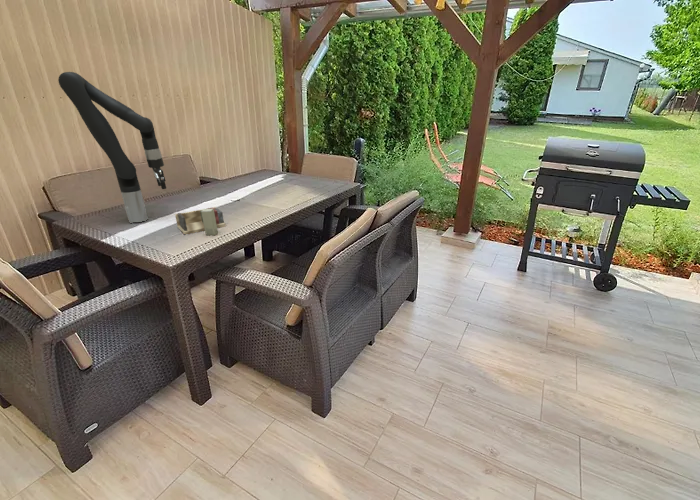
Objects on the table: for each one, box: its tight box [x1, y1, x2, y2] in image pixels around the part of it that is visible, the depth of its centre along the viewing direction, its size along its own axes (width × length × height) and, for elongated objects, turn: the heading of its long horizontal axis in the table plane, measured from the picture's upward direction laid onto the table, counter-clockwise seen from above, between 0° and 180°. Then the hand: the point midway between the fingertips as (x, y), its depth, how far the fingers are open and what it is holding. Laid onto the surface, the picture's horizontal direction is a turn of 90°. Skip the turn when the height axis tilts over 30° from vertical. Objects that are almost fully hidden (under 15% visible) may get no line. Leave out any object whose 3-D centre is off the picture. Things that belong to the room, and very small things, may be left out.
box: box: [201, 208, 219, 236], centre depth 174 cm, size 5×4×13 cm
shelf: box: [174, 206, 227, 235], centre depth 184 cm, size 21×13×8 cm, turn 128°
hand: (162, 187), depth 192 cm, fingers open, 8 cm apart
